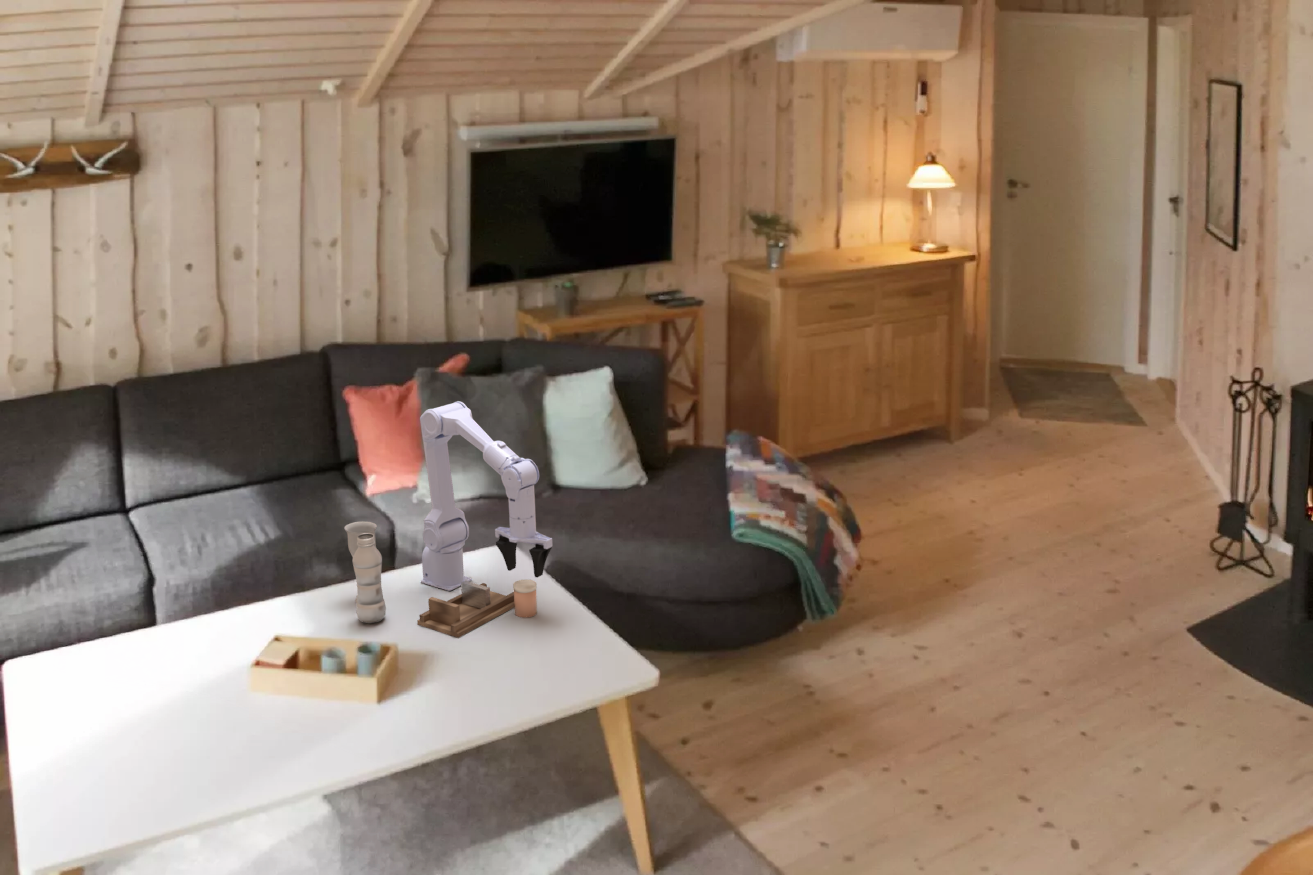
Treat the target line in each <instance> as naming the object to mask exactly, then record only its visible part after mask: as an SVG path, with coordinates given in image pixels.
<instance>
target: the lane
mask: <svg viewBox="0 0 1313 875" xmlns="http://www.w3.org/2000/svg"><path fill="white" fill-rule="evenodd" d="M479 585H483V586H486V587H488V584H487V583H484V582H481V583H480V584H479ZM427 600H428V610H426V611H424V612H422V613H420V614H419V619H417V621H416V622H417V625H418V626H421V627H424V628H427V629H429V630H433V631H437V632H440V633H441V634H445V635H448V636H452V637H454V638H458V639H459V638H461V637H463V636H464V635H466V634H468V633H469V632H471V631H474V630H475V629H477V628H479V627H480V626H483V625H484V624H487V623H488V622H490V621H491V620H494V619H495V618H497V617H499V616H501V615H503V614H504V613H506V612H508V611H510V610H512V609H515V608H514V591H513V592H510V593H509V594H506V595H505V594H503V593H498V592H495V591H492V590H490V602H491V604H490V605H488V606H486V607H484V608H482V609H480V608H477V607H473V606H470V605H467V604H464V603H462V593H460V594H458V595H456V596H455V597H453V598H450V599H449V600H444V599H440V598H438V597H434V596H431V597H429V598H428V599H427Z"/></svg>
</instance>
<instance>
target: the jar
mask: <svg viewBox="0 0 1313 875" xmlns="http://www.w3.org/2000/svg"><path fill="white" fill-rule="evenodd" d="M512 588H513V592H514V608H513V609H514V615H515V616H517V617H519V618H531V617H534V616H536V615H537V614H538V604H537V602H538V601H537V588H538V587H537V582H536V581H535V580H533V579H519V580H516V581H514V582H513V583H512Z"/></svg>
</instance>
